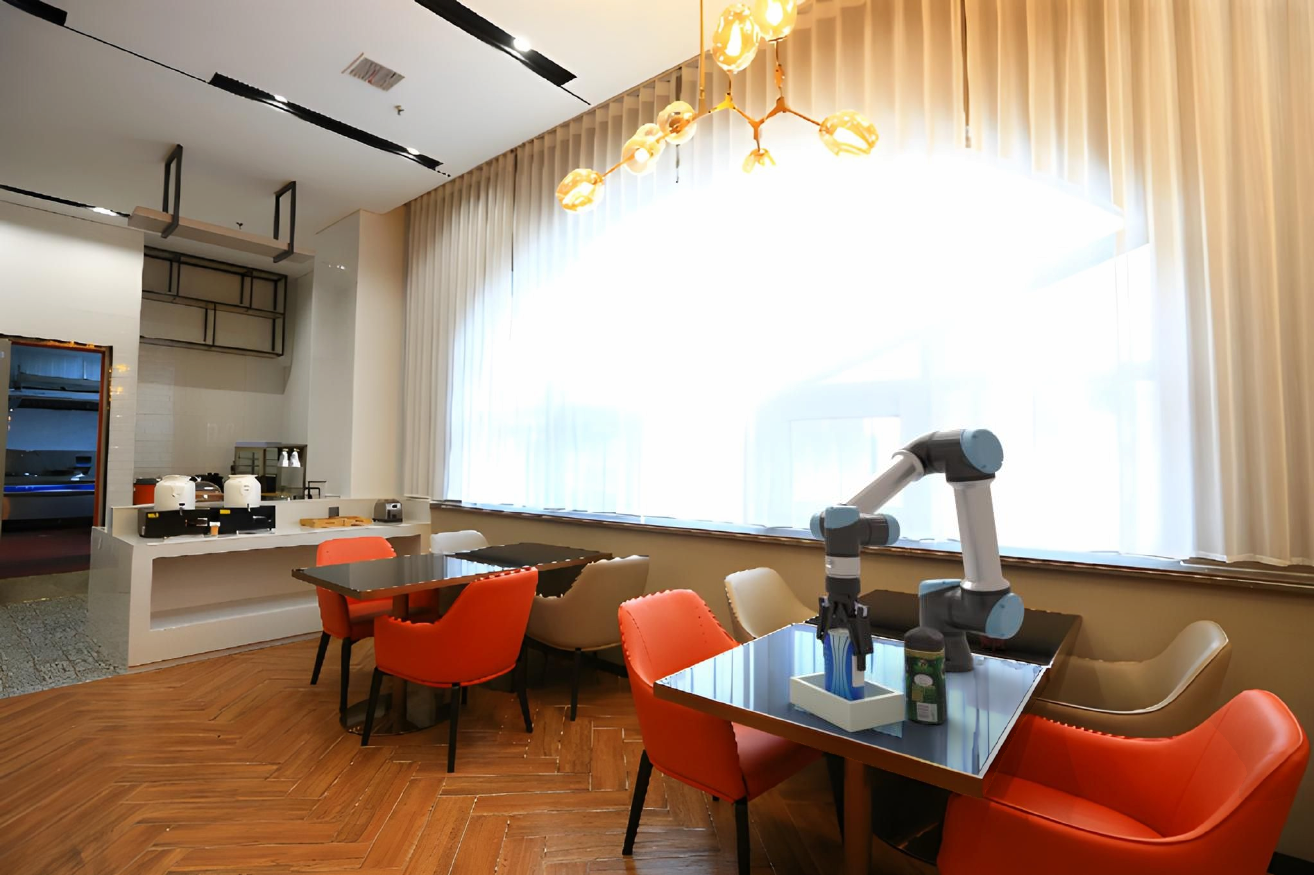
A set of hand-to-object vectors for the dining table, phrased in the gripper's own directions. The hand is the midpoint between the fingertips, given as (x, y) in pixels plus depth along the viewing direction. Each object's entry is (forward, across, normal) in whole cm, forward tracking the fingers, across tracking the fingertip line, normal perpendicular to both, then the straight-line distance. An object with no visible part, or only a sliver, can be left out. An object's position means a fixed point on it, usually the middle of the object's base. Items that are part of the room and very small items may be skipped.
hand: (844, 679), depth 139 cm
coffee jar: (+7, +10, +13) cm, 18 cm away
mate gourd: (+6, -21, +78) cm, 81 cm away
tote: (+7, 0, 0) cm, 7 cm away
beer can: (+6, 0, 0) cm, 6 cm away
